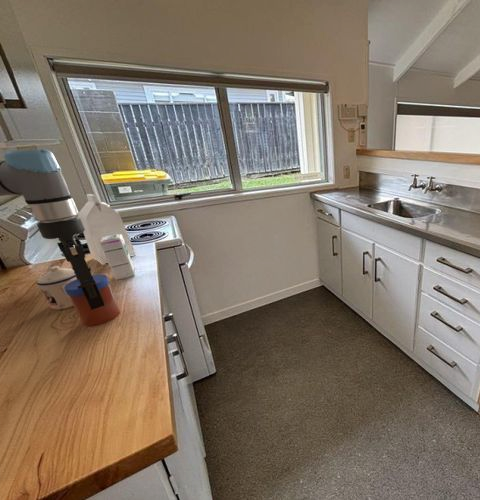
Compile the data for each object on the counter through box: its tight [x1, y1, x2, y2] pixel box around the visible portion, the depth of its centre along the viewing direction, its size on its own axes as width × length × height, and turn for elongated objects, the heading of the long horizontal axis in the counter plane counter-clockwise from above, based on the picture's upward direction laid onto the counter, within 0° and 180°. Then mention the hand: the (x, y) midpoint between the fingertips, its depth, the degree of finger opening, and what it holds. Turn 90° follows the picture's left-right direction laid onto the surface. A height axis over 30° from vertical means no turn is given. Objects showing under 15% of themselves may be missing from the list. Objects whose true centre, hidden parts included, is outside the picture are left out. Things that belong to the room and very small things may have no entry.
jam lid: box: [64, 273, 110, 296], centre depth 73 cm, size 8×8×2 cm
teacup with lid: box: [36, 265, 77, 311], centre depth 82 cm, size 12×9×12 cm
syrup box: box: [99, 234, 136, 281], centre depth 98 cm, size 6×6×14 cm
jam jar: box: [70, 283, 121, 327], centre depth 75 cm, size 8×8×10 cm
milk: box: [77, 193, 137, 265], centre depth 113 cm, size 12×12×26 cm
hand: (94, 301), depth 75 cm, fingers closed on jam lid, 8 cm apart
